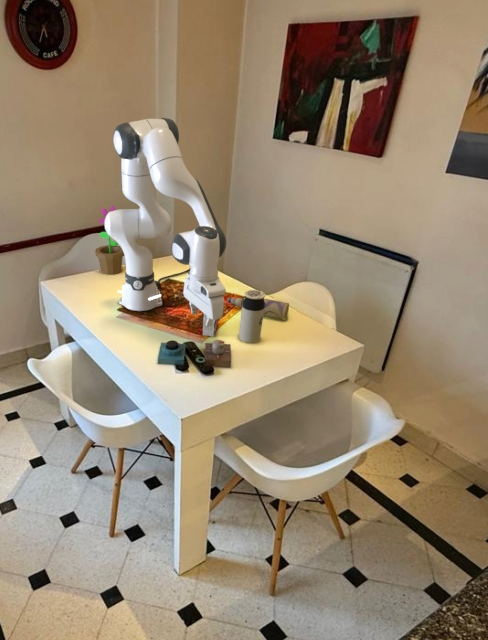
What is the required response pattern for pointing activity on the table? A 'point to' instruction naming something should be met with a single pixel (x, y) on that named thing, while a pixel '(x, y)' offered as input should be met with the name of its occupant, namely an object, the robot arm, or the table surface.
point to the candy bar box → (209, 330)
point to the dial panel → (218, 356)
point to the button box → (171, 354)
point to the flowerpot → (109, 252)
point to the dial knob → (218, 346)
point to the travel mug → (252, 316)
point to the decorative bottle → (267, 307)
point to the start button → (172, 345)
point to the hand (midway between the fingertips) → (201, 320)
